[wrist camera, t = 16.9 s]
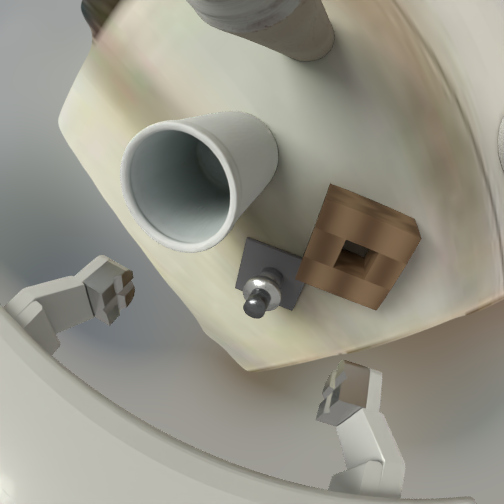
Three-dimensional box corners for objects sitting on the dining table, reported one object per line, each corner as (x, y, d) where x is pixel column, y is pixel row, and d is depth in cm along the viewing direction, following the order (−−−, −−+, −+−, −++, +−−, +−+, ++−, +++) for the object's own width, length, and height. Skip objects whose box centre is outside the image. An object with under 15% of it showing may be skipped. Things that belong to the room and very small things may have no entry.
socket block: (414, 219, 38) (421, 238, 33) (376, 286, 46) (376, 310, 41) (330, 183, 40) (325, 198, 35) (302, 257, 48) (294, 279, 43)
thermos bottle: (265, 26, 30) (118, -34, 8) (314, 2, 26) (229, -114, 4) (294, 70, 33) (174, 47, 11) (345, 47, 28) (319, -40, 6)
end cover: (293, 271, 49) (278, 305, 42) (282, 296, 53) (267, 330, 46) (259, 256, 50) (239, 287, 43) (250, 282, 54) (231, 314, 47)
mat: (313, 262, 48) (312, 264, 47) (292, 308, 55) (292, 310, 55) (247, 237, 50) (246, 238, 49) (236, 286, 57) (235, 287, 56)
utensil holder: (186, 112, 41) (107, 135, 27) (278, 101, 36) (225, 111, 22) (201, 195, 48) (137, 248, 35) (286, 197, 43) (246, 259, 30)
